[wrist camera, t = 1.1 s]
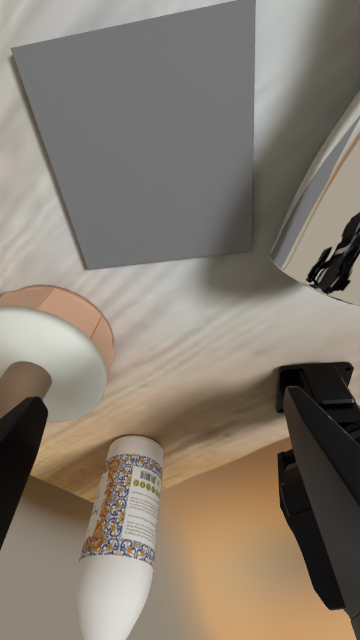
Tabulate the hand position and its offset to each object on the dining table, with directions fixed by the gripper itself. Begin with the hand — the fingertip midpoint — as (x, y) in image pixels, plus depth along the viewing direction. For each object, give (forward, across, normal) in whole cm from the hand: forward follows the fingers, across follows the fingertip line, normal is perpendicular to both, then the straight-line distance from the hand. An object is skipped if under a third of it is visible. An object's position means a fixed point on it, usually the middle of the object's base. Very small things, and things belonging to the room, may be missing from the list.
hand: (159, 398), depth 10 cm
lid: (+9, +11, +6) cm, 15 cm away
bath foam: (+13, +8, +25) cm, 29 cm away
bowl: (+13, +11, +6) cm, 18 cm away
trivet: (+13, +1, -6) cm, 14 cm away
